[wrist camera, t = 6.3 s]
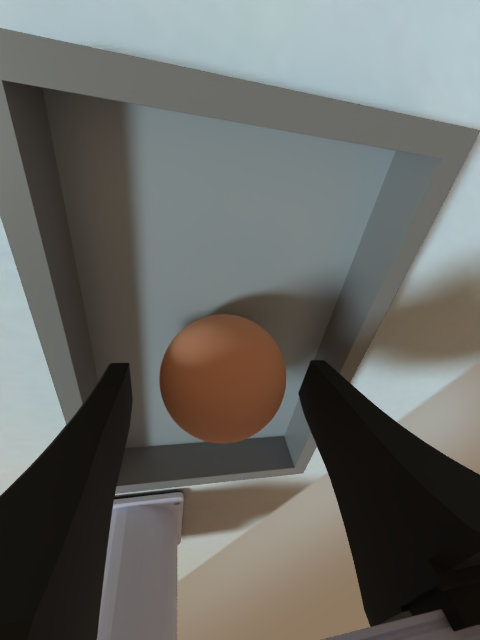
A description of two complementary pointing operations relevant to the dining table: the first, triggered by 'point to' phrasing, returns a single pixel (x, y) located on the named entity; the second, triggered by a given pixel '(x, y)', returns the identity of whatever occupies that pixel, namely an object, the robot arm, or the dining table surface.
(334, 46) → the dining table surface
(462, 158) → the walled pen
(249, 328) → the ball
